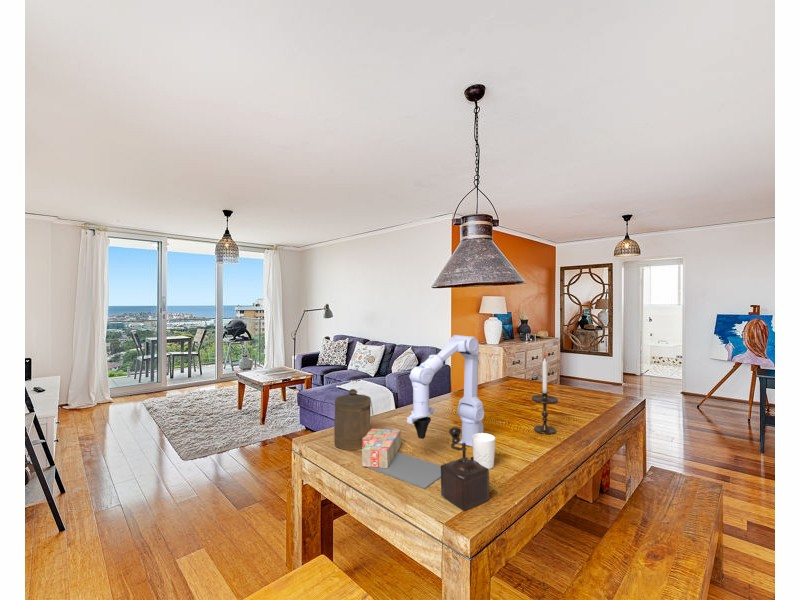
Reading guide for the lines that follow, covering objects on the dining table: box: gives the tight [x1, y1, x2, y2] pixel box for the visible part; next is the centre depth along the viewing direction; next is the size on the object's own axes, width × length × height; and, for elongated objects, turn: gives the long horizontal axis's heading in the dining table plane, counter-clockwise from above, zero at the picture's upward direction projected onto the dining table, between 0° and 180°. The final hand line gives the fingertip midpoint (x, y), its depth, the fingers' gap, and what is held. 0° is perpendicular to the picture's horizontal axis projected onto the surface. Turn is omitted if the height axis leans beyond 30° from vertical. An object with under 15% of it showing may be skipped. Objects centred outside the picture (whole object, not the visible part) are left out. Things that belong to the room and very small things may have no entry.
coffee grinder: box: [440, 426, 490, 512], centre depth 115 cm, size 16×11×18 cm
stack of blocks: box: [361, 428, 402, 468], centre depth 143 cm, size 21×6×12 cm
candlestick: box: [531, 352, 559, 436], centre depth 166 cm, size 11×11×35 cm
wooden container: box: [333, 388, 372, 451], centre depth 155 cm, size 15×15×22 cm
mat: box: [367, 451, 441, 490], centre depth 131 cm, size 16×24×1 cm, turn 52°
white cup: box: [472, 432, 496, 470], centre depth 134 cm, size 8×8×10 cm
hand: (421, 437), depth 137 cm, fingers closed
